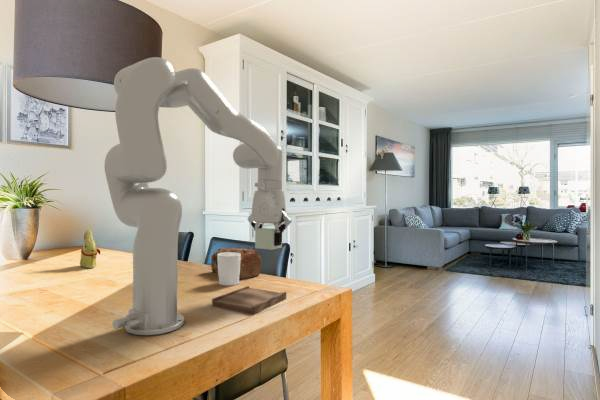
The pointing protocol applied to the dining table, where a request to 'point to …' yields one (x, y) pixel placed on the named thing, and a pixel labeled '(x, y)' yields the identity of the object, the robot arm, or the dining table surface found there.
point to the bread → (248, 262)
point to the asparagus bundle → (88, 251)
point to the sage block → (265, 238)
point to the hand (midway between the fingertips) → (268, 244)
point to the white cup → (229, 268)
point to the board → (248, 300)
